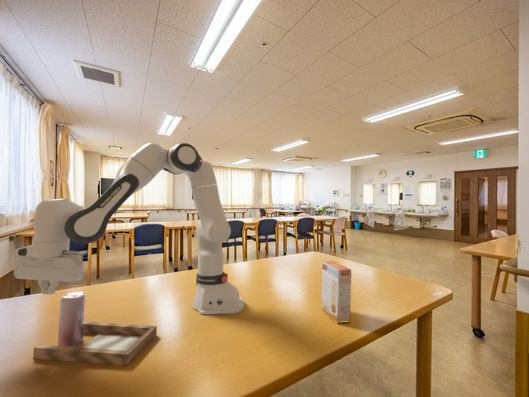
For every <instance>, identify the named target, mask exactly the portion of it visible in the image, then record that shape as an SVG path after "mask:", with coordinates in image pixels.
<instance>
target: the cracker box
mask: <svg viewBox="0 0 529 397" xmlns="http://www.w3.org/2000/svg"><path fill="white" fill-rule="evenodd" d="M321 273H322V275H321V276H322V277H321V281H322V282H321V305H322V307H323V308H324V309H325V310H326V311H327V312H328V313H329V314H330V315H331V316H332V317H333V318H334V319H335V320H336V321H337V322H341V321H349V320H350V321H351V304H352V303H351V299H352V269H351V268H348V267H347V266H345V265H342V264H340V263H339V262H336V261H333V260H331V261H324V260H323V261H322V271H321Z"/></svg>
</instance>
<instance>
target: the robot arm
mask: <svg viewBox="0 0 529 397" xmlns="http://www.w3.org/2000/svg"><path fill="white" fill-rule="evenodd" d="M161 171H166V172H167V173H170V174H172V175H181V174H185V175H186V176H187V177H188V180H189V182H190V187H191V193H192V198H193V203H194V207H195V210H196V212H197V215H198V218H199V219H198V220H197V222H196V225H195V231H196V243H197V244H196V245H197V256H198V258H197V259H198V260H197V272H196V277H195V286H196V288H195V289H196V290H195V295H194V299H193V303H192V308H193V309H194V310H195V311H198V312H199V314H200V315H222V314H223V315H227V314H229V315H230V314H231V315H232V314H238V313H240V312H242V310H243V309H244V308H243V307H245V300H244V299H243V297H241V296H240V291H239V289H238V288H237V287H236V286H235V285H234V284H232V283H231V282H229V280H228V277H229V276H228V275H229V273H226V272H225V271H224V264H225V263H224V255H225V254H224V251H223V248H222V247H223V246H222V243H224V242H226V241H227V240H228V239H229V238H230V236H231V233H232V229H231V226H230V224H229V222H228V220H227V217H226V214H225V212H224V208H223V207H222V203H221V198H220V193H219V188H218V182H217V178H216V175H215V171H214V168H213V166H212V164H211V163H210V161H209V162H208V161H206V160H203V158H202V157H201V156H200V154H199V152H198V150H197V149H196V148H195V146H193V145H192V144H190V143H187V142H186V143H185V142H182V143H177V144H175V145H174V146H172V147H170V148H169V149H166V148H164V147H162V145H160V144H158V143H155V142H148V143H147V144H144V145H142V147H140V148H138V149H137V150H136V151H134V152H133V153H132V154H130V156H129V157H128V158H127V159H126V160H125V161H124V163H122V165H121V166H120V168H119V169H118V171H117V172H116V175H115V178H114V180H113V181H112V183H111V185H110V186H109V187H108V188H107V189H106V190H105V191H104V192H103V194H101V196H100V197H98V198H97V199H96V201H94V202H93V203H92V204H91V205H89V207H84V206H82V205H79V204H77V203H75V202H73V201H72V200H70V199H69V198H54V199H52V198H51V199H45V200H43V201H40V202H39V203H38V204H37V205H36V208H35V212H34V217H33V226H32V227H33V230H34V236H33V237H32V239H31V240H32V241H31V244H30V245H27V246H23V247H19V248H17V249H15V256H16V257H15V260H14V262H13V263H14V265H13V275H14V277H15V279H19V280H31V281H32V280H33V281H37V284H38V286H39V287H40V294H41V295H45V296H46V295H50V296H51V295H54V294H55V293H56V288H57V287H58V286H59V284H60V282H63V283H64V282H65V283H66V282H68V283H74V282H77V281H80V280H82V279H83V277H84V275H85V273H84V272H85V269H84V262H83V260H84V259H83V257H84V256H83V254H82V253H80V252H79V251H78V250H70V243H71V241H72V242H74V243H76V244H82V245H85V244H86V245H87V244H91V243H94V242H97V241H98V240H100V239H101V238H103V236H104V235H105V233H106V231H107V227H108V224H109V222H110V219H111V218H112V217H113V215H114V214H115V213H116V212H117V211H118V209H119V208H121V206H122V205H123V204H124V203H125V202H127V200H128V199H129V198H130V197H131V196H132V195H134V194H135V193H137V192H138V191H140V190H142V189H143V188H145V187H147V185H148V184H149V183H150V182H151V181H153V179H154V178H155V177H156V176H157V175H158V174H159V173H160V172H161Z"/></svg>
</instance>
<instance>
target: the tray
mask: <svg viewBox="0 0 529 397" xmlns="http://www.w3.org/2000/svg"><path fill="white" fill-rule="evenodd" d="M157 328H158V326H157V325H155V326H154V325H145V324H128V323H127V324H126V323H113V322H110V323H109V322H98V321H95V322H94V321H84V324H83V334H93V335H95V334H96V335H95V336H94V337H93V338H92V339H90V340H89V341H87V342H85V344H83V345H82V346H80V347H78V346H74V347H67V346H58V345H53V344H52V345H51V344H38V345H36V346H35V347H33V354H32V355H33V356H32V358H33V359H34V360H48V361H60V362H75V363H87V364H98V365H99V364H101V365H114V366H126V367H127V366H129V365H130V364H131V363H132V362H133V361H134V360H135V358H137V356H139V355H140V353H141V352H142V351H143V350H144V349H145V348H146V347H147V346H148V345H149V344H150V343H151V342H152V341H153V340H154V338H156V337H157V331H158V330H157Z"/></svg>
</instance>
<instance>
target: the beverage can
mask: <svg viewBox="0 0 529 397" xmlns="http://www.w3.org/2000/svg"><path fill="white" fill-rule="evenodd" d="M85 300H86V296H85V292H83V291H73V292H68V293H65V294H64V295H61V298H60V301H59V316H58V317H59V318H58V335H57V346H67V347H77V346H78V345H79V344H81V342H82V341H83V340H84V339H83V338H84V333H83V324H84V322H85V320H84V319H85V304H86V302H85Z"/></svg>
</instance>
